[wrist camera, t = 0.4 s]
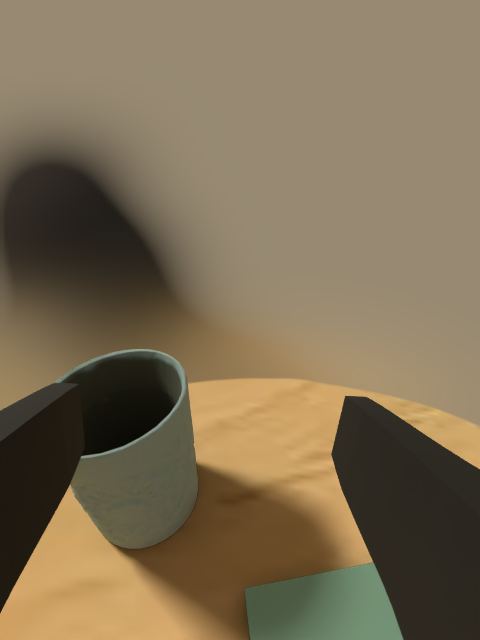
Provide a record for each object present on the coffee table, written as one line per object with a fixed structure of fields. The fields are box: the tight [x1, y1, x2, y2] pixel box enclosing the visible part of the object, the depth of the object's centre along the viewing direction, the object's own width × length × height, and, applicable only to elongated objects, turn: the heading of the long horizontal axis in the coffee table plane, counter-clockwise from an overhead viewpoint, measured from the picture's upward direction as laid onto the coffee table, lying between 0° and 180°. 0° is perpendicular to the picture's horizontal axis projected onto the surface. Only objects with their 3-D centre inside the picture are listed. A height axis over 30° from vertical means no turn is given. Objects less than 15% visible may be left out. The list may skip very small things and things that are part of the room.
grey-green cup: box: [54, 349, 198, 549], centre depth 24 cm, size 10×10×12 cm
